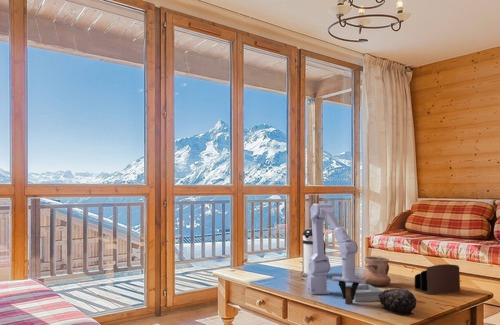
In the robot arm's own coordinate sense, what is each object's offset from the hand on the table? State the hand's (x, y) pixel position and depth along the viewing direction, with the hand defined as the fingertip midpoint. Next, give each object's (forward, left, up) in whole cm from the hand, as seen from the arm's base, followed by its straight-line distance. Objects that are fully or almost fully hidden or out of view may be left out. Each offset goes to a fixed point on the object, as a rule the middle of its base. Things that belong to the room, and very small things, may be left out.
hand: (348, 298), depth 189 cm
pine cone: (+14, -14, -2) cm, 20 cm away
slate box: (+11, +9, -2) cm, 14 cm away
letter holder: (+54, +13, -2) cm, 56 cm away
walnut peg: (0, 0, -2) cm, 2 cm away
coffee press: (+5, +59, -2) cm, 59 cm away
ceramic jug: (+31, +32, -2) cm, 45 cm away
